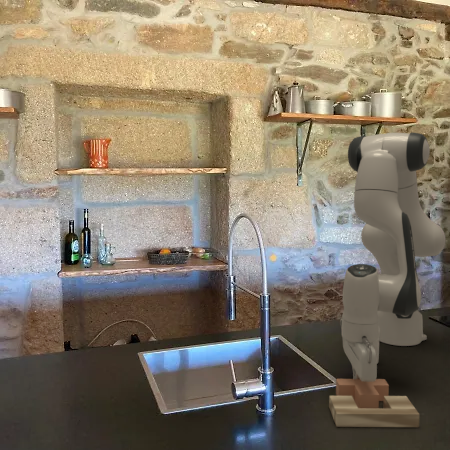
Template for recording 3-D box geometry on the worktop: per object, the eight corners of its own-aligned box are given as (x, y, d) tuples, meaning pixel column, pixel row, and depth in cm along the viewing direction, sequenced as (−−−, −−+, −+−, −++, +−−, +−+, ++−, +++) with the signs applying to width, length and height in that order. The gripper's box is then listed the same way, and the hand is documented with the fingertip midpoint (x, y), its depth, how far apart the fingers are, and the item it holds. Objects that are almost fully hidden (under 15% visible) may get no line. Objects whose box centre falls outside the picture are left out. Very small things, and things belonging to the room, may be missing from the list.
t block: (335, 393, 125) (336, 378, 124) (384, 394, 124) (384, 379, 124) (343, 410, 116) (343, 394, 116) (394, 411, 116) (395, 395, 115)
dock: (329, 407, 118) (329, 395, 117) (405, 408, 117) (406, 396, 117) (336, 426, 109) (336, 413, 109) (418, 427, 109) (419, 414, 108)
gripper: (384, 345, 113) (382, 403, 115) (362, 317, 134) (360, 366, 135) (357, 345, 114) (355, 402, 115) (338, 317, 134) (337, 366, 136)
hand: (358, 383), depth 126 cm, fingers closed
